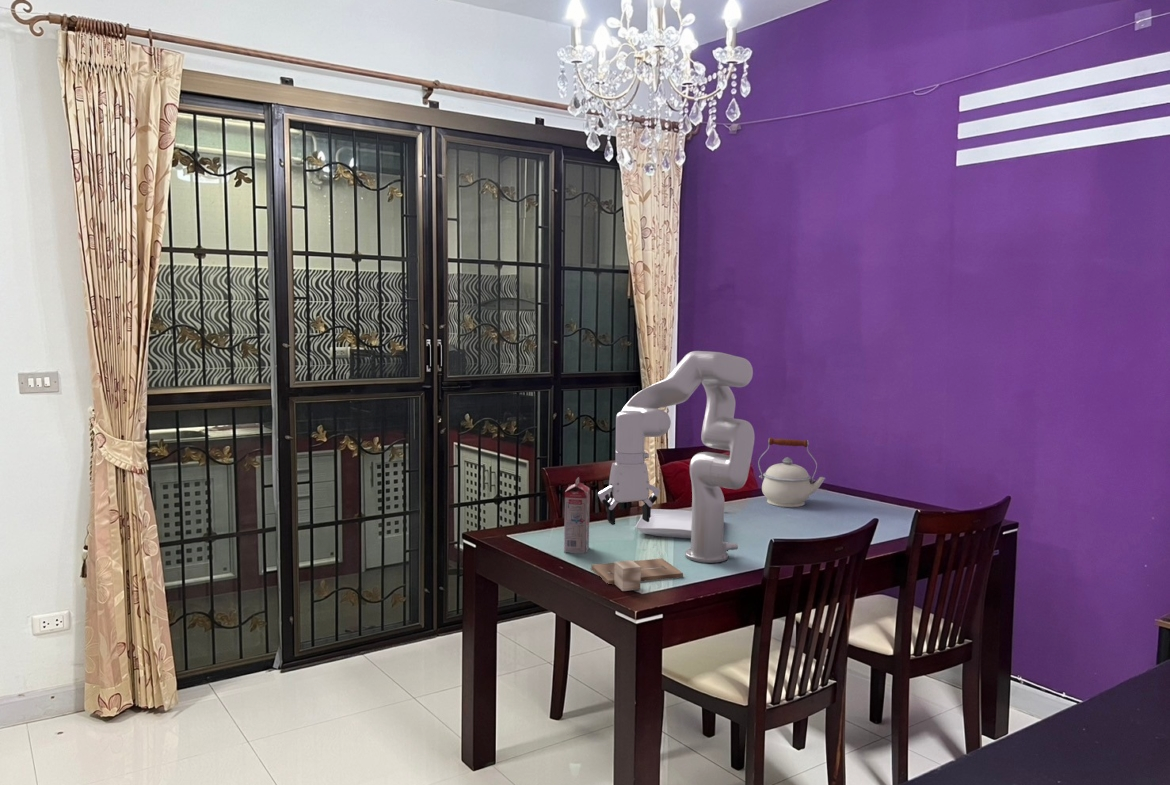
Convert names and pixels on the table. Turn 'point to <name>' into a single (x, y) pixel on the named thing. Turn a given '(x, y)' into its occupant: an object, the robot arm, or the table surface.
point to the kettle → (788, 479)
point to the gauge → (627, 575)
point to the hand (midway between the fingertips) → (628, 522)
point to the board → (649, 570)
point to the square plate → (667, 523)
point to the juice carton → (576, 518)
